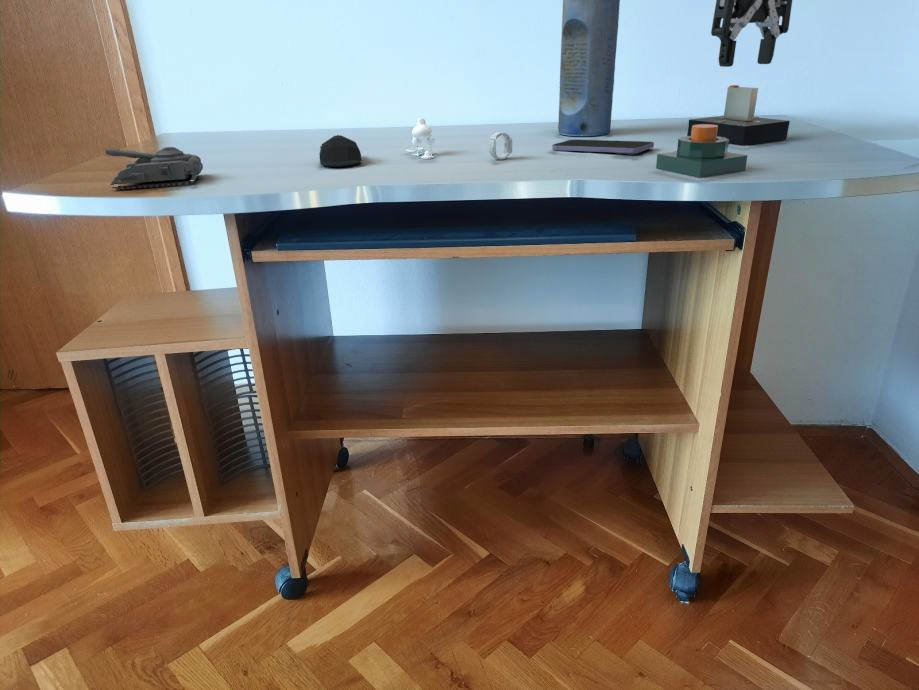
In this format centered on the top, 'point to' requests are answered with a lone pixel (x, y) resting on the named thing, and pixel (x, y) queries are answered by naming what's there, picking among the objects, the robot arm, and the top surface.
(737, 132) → the dial panel
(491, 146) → the smartwatch
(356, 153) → the gaming mouse
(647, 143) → the smartphone
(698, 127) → the orange short cylinder
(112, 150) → the tank toy
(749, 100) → the white block
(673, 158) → the green peg socket
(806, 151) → the top surface
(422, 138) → the figurine
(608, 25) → the bottle
